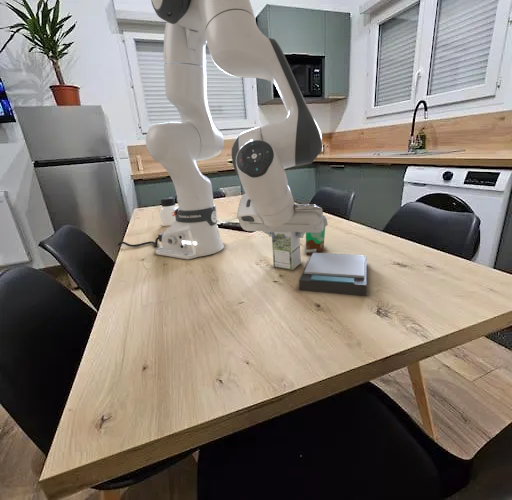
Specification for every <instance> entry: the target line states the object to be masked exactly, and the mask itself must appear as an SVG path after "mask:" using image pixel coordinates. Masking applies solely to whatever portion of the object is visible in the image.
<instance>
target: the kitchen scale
mask: <svg viewBox="0 0 512 500" xmlns="http://www.w3.org/2000/svg"><path fill="white" fill-rule="evenodd" d="M367 259H368V257H367V256H366V255H365V254H355V253H354V254H352V253H351V254H350V253H331V252H329V253H328V252H320V253H313V254H311V255H309V259H308V261H307V263H306V264H305V266H304V269H303V271H302V273H301V275H300V277H299V279H298V282H299V283H298V288H299V289H298V290H299V291H307V292H309V291H310V292H319V293H329V294H330V293H331V294H341V295H353V296H364V297H365V296H366V297H367V286H368V285H367V284H368V283H367V281H368V279H367V276H368V275H367V274H368V272H367V271H368V269H367V267H368V266H367V265H368V264H367Z"/></svg>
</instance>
